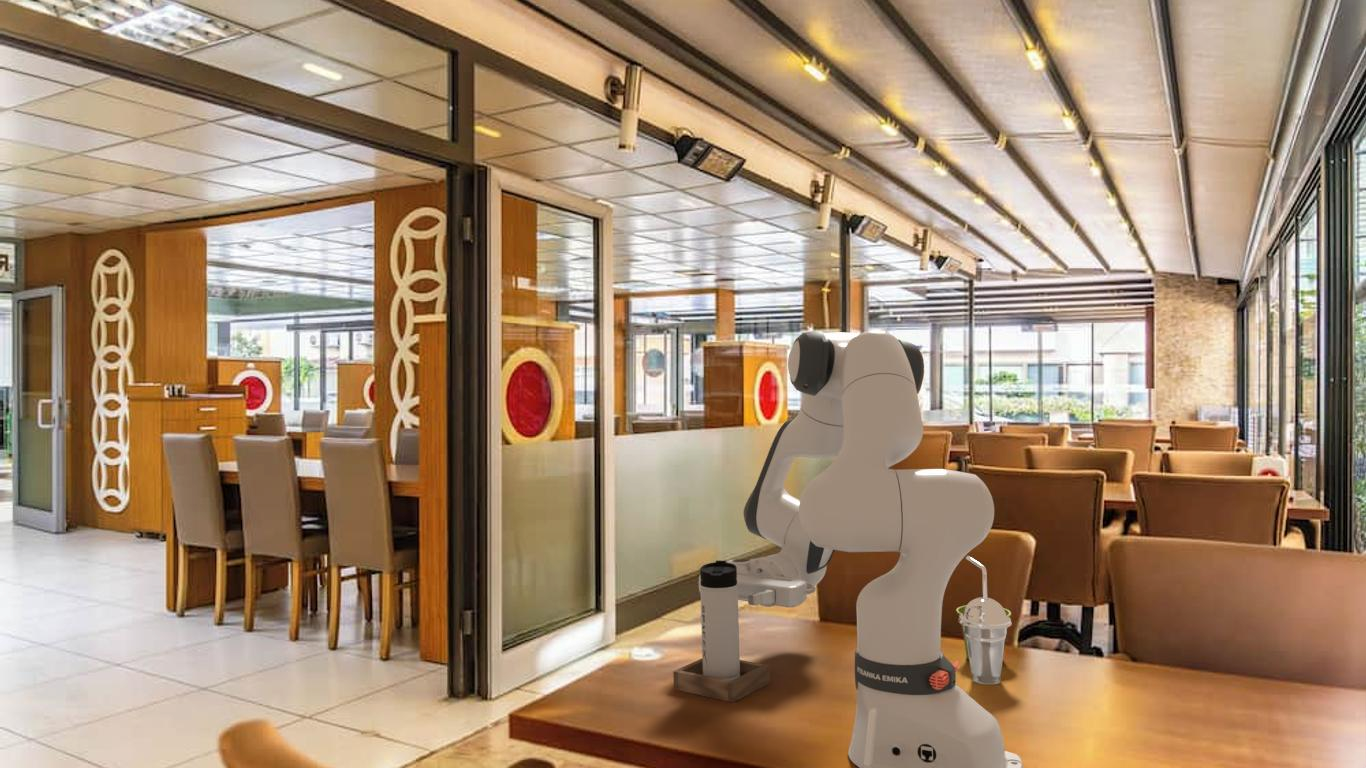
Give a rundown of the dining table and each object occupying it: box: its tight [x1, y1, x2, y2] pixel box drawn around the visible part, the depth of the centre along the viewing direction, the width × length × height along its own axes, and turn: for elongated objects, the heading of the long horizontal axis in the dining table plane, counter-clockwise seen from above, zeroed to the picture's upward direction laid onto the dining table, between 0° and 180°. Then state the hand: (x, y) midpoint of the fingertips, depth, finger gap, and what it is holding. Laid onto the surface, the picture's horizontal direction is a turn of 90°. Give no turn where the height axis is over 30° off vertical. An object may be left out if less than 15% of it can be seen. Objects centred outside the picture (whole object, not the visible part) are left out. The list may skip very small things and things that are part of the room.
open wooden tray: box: [672, 658, 770, 703], centre depth 157 cm, size 12×11×3 cm
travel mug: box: [699, 560, 741, 681], centre depth 157 cm, size 6×7×20 cm
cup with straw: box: [958, 555, 1013, 685], centre depth 156 cm, size 8×9×20 cm
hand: (728, 597), depth 160 cm, fingers open, 8 cm apart
